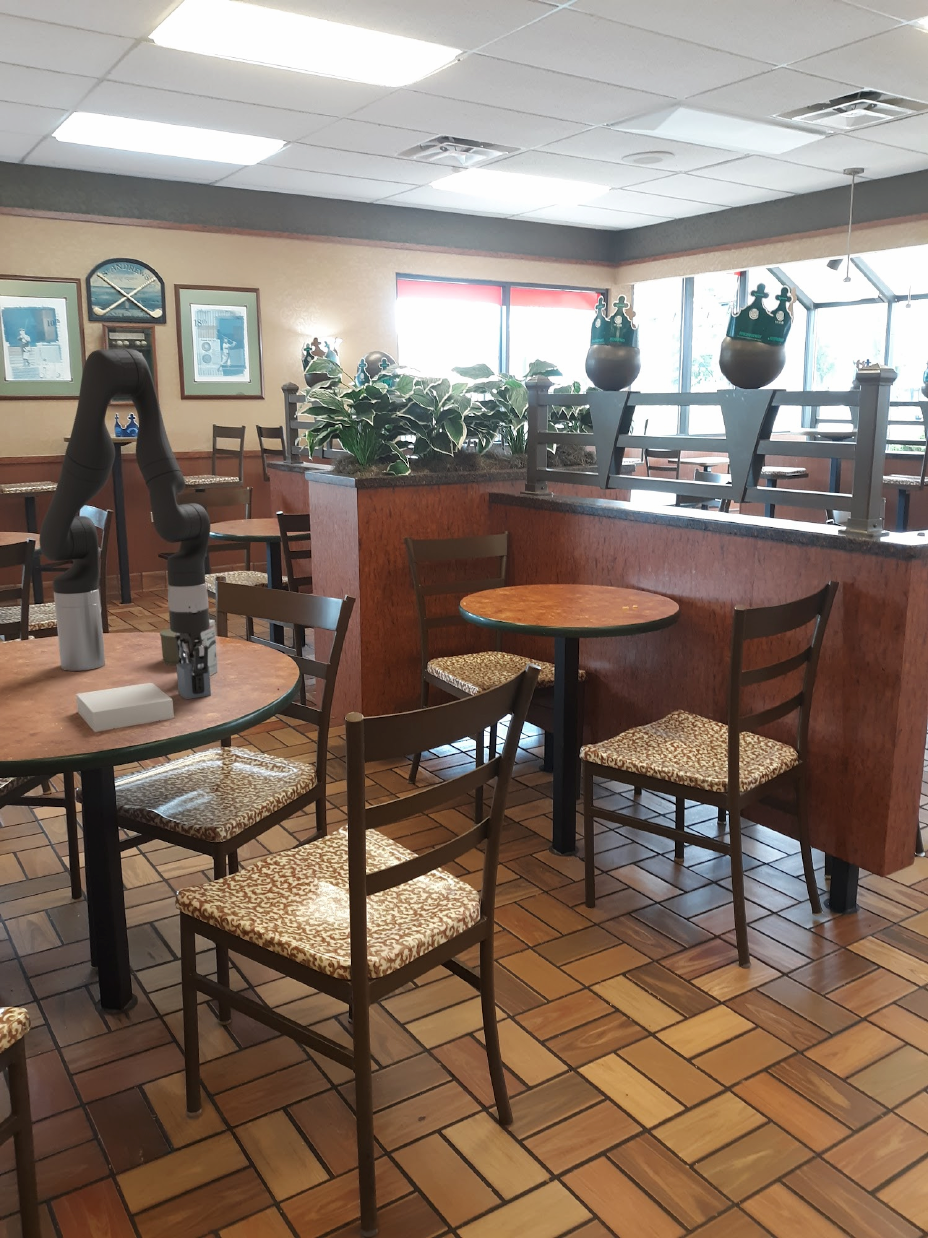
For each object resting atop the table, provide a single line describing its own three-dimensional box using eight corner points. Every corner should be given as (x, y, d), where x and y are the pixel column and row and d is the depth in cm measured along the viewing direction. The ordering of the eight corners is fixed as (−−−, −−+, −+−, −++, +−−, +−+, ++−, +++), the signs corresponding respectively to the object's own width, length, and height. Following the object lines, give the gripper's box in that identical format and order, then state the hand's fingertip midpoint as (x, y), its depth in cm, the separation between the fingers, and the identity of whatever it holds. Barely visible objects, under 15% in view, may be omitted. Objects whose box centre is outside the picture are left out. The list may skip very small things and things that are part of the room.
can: (160, 668, 213) (157, 638, 212) (163, 655, 225) (161, 626, 223) (216, 664, 216) (214, 634, 215) (216, 652, 228) (215, 623, 226)
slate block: (178, 693, 194) (176, 664, 192) (203, 689, 196) (201, 660, 195) (185, 699, 190) (183, 669, 188) (210, 695, 192) (209, 666, 191)
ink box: (200, 682, 202) (196, 626, 199) (178, 681, 203) (174, 626, 200) (219, 671, 210) (215, 618, 207) (198, 670, 211) (194, 617, 208)
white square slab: (78, 714, 182) (76, 694, 181) (152, 702, 190) (151, 682, 189) (94, 734, 171) (93, 712, 170) (173, 720, 178) (172, 699, 177)
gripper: (159, 602, 193) (165, 684, 197) (180, 614, 181) (186, 701, 185) (196, 598, 197) (201, 679, 201) (219, 610, 185) (224, 695, 189)
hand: (194, 689), depth 193 cm, fingers closed on slate block, 5 cm apart
